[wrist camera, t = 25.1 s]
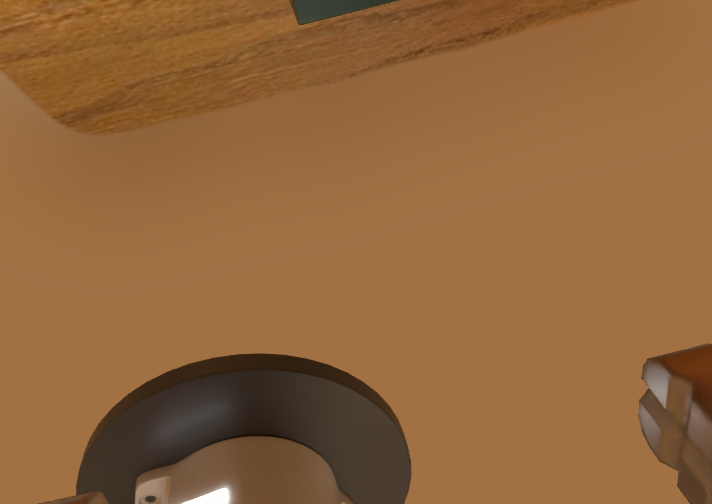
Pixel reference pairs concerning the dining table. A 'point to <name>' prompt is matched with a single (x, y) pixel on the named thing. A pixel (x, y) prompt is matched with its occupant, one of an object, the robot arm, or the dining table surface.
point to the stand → (329, 8)
